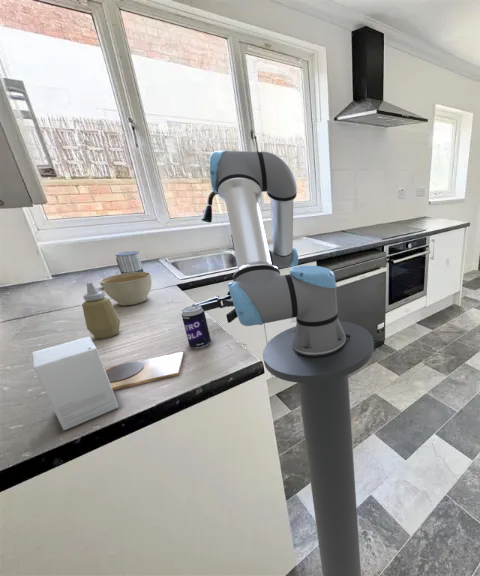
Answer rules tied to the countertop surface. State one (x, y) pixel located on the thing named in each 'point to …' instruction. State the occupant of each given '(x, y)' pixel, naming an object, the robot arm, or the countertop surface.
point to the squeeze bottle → (99, 313)
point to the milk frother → (129, 262)
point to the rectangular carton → (74, 381)
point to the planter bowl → (128, 287)
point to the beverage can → (196, 326)
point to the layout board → (144, 370)
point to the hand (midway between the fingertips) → (207, 318)
